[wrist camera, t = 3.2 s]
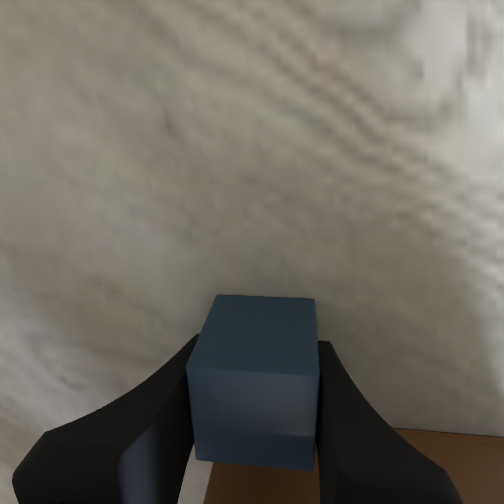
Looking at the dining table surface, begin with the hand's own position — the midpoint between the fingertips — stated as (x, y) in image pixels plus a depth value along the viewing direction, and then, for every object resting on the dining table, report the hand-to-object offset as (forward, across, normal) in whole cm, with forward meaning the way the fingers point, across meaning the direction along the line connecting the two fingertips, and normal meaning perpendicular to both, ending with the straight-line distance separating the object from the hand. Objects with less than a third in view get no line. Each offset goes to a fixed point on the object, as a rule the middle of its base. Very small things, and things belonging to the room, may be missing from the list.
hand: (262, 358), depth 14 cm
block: (+1, 0, 0) cm, 1 cm away
